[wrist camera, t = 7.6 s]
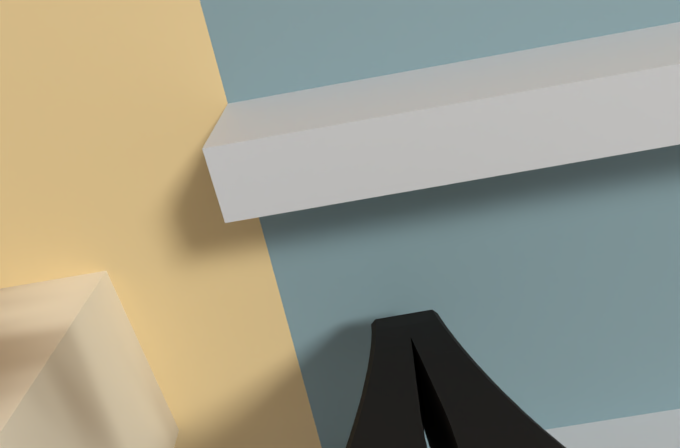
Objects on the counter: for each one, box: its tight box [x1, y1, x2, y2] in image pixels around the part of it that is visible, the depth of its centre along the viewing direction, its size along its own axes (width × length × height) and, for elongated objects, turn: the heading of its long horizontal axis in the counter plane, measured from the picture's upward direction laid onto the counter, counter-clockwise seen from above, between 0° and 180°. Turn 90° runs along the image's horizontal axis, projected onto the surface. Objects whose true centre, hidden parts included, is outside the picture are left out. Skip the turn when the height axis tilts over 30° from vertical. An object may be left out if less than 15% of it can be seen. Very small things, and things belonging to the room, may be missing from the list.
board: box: [0, 0, 680, 448], centre depth 12 cm, size 35×18×4 cm, turn 100°
